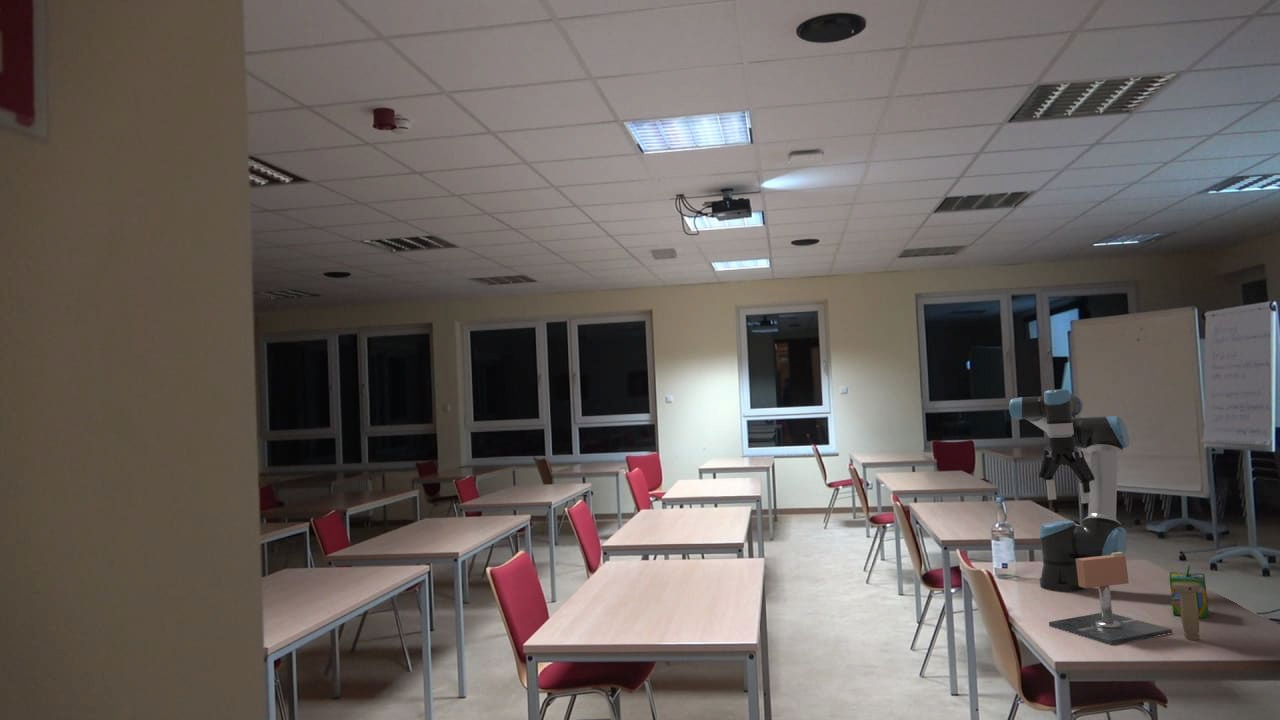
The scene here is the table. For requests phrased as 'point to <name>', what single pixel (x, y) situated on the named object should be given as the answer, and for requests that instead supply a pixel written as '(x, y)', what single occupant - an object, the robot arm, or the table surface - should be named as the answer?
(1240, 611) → the table surface
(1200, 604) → the chalk box
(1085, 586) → the pink plank with tab
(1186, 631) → the handle
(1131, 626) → the post stand
